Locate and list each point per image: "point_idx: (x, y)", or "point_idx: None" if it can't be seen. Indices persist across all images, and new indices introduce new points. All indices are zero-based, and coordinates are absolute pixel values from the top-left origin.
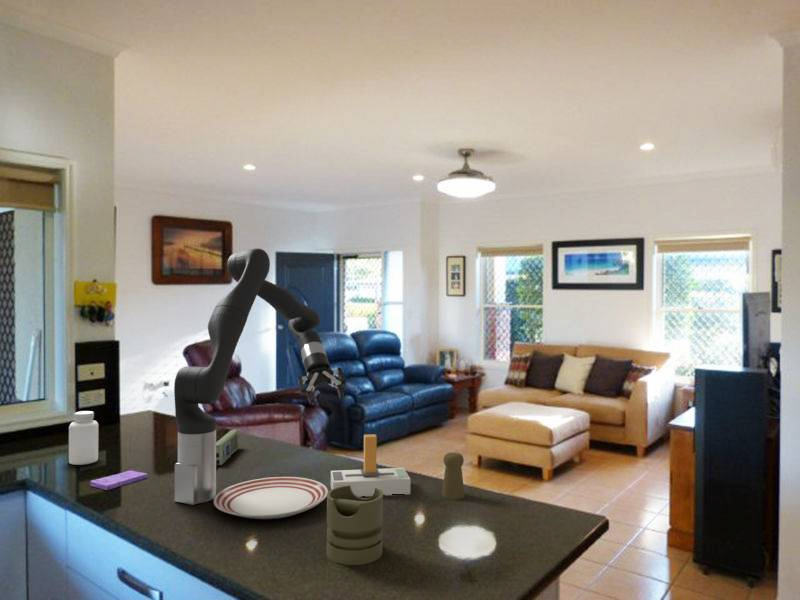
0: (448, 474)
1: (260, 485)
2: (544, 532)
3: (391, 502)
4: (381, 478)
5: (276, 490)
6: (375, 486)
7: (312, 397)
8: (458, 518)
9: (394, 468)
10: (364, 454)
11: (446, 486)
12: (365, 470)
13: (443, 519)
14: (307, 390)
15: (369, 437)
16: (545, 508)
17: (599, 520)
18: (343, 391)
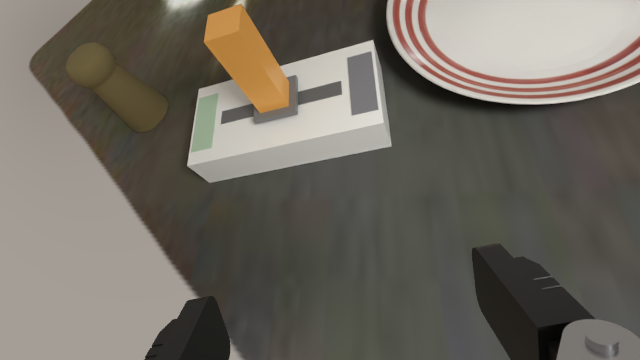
0: (127, 71)
1: (613, 71)
2: (110, 9)
3: None
4: None
5: (545, 65)
6: None
7: (498, 262)
8: (183, 25)
9: (209, 157)
10: (268, 59)
11: (148, 86)
12: (285, 77)
13: (204, 18)
14: (612, 330)
15: (229, 8)
16: (60, 79)
17: (35, 53)
18: (155, 339)
